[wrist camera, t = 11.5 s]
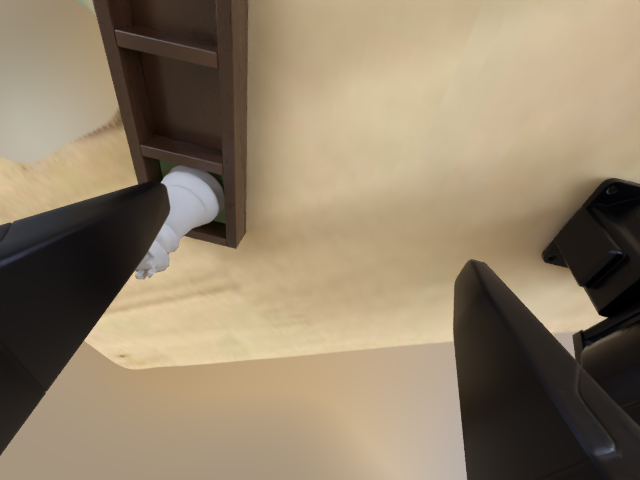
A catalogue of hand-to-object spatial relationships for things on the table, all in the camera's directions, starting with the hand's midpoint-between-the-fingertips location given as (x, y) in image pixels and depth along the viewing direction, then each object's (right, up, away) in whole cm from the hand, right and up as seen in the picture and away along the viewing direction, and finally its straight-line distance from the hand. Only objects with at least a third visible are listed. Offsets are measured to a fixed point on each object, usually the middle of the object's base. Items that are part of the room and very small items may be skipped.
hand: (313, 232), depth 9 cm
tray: (-8, +9, +11) cm, 16 cm away
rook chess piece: (-9, +4, +15) cm, 17 cm away
